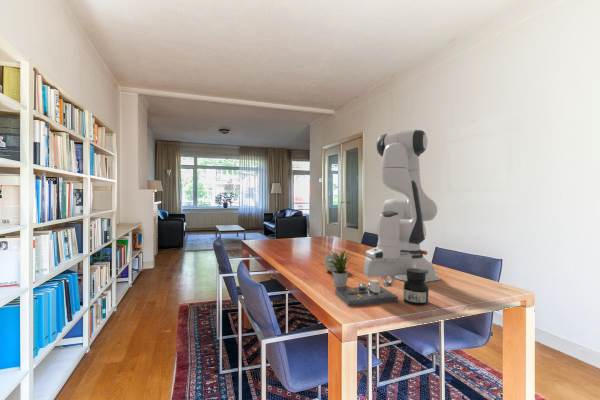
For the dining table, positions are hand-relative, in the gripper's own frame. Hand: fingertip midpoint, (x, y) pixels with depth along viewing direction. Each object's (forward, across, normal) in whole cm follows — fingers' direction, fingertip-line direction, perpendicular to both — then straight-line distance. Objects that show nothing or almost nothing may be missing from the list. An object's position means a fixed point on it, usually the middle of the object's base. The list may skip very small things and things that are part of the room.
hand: (388, 286), depth 121 cm
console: (+4, +10, 0) cm, 11 cm away
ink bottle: (+4, -7, +8) cm, 11 cm away
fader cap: (+1, +6, 0) cm, 6 cm away
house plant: (+4, +14, -18) cm, 23 cm away
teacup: (+4, +9, -40) cm, 41 cm away
